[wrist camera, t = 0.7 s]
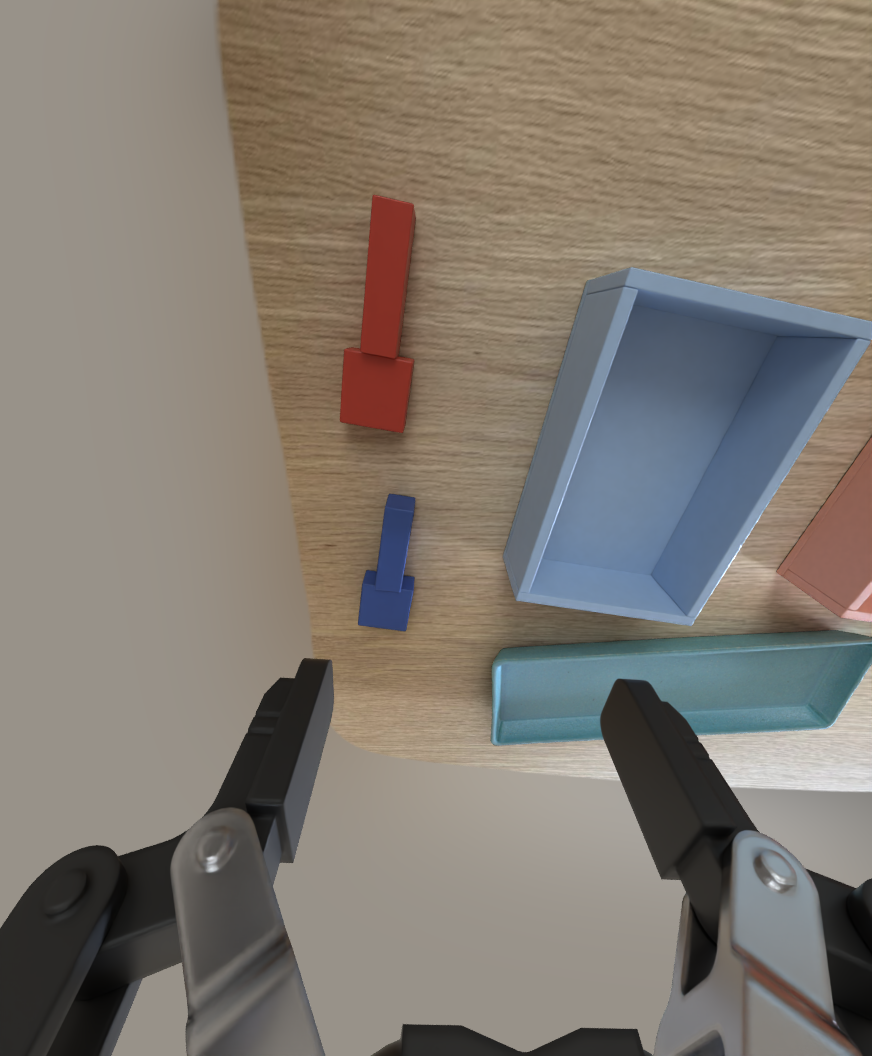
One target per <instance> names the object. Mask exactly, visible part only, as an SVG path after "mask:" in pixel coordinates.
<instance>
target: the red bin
mask: <svg viewBox="0 0 872 1056" xmlns="http://www.w3.org/2000/svg"><path fill="white" fill-rule="evenodd" d="M777 573H778V574H780V575H781V576H783V577H784V578H786V579H787V580H788V581H790V582H791V583H793V584H794V585H795V586H797V587H798V588H800V589H801V590H802V591H804V592H805V593H807V594H808V595H809V596H811V597H812V598H814V599H815V600H816V601H818V602H819V603H821V604H822V605H823V606H825V607H826V608H828V609H829V610H830V611H832V612H833V613H835V614H836V615H837V616H839V617H841V618H848V619H854V620H861V621H867V622H872V437H871V439H870V440H869V441H868V443H867V444H866V446H865V447H864V448H863V450H862V451H861V453H860V454H859V456H858V457H857V458H856V460H855V461H854V463H853V464H852V465H851V467H850V468H849V470H848V471H847V473H846V474H845V475H844V477H843V478H842V480H841V481H840V482H839V484H838V485H837V487H836V488H835V489H834V491H833V492H832V494H831V495H830V497H829V498H828V499H827V501H826V502H825V504H824V505H823V506H822V508H821V509H820V511H819V512H818V514H817V515H816V516H815V518H814V519H813V521H812V522H811V523H810V525H809V526H808V528H807V529H806V531H805V532H804V533H803V535H802V536H801V538H800V539H799V540H798V542H797V543H796V545H795V546H794V547H793V549H792V550H791V552H790V553H789V555H788V556H787V557H786V559H785V560H784V562H783V563H782V564H781V566H780V567H779V569H778V570H777Z"/></svg>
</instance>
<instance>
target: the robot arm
mask: <svg viewBox="0 0 872 1056" xmlns="http://www.w3.org/2000/svg"><path fill="white" fill-rule="evenodd" d="M333 704H334V688H333V667H332V660H326V659H310V658H304V659H303V660H302V662H301V664H300V666H299V669H298V671H297V674H296V676H295V678H280V679H279V680H278V681H277V682H276V683H275V684H274V685H273V686H272V687H271V688H270V689H269V690H268V691H267V692H266V693H265V694H264V696H263V699H262V701H261V703H260V705H259V707H258V709H257V711H256V715H255V717H254V718H253V720H252V722H251V724H250V726H249V728H248V733H247V734H246V735H245V737H244V739H243V741H242V743H241V746H240V748H239V750H238V752H237V754H236V756H235V758H234V761H233V763H232V765H231V767H230V769H229V772H228V774H227V776H226V778H225V780H224V782H223V784H222V786H221V789H220V791H219V793H218V795H217V797H216V799H215V801H214V803H213V804H212V806H211V807H210V809H209V810H208V811H207V812H206V814H205V815H204V816H203V817H202V818H201V819H200V820H198V821H197V822H196V823H195V824H194V825H193V826H192V827H191V828H190V829H188V830H187V831H185V832H184V833H182V834H181V835H179V836H177V837H175V838H173V839H171V840H168V841H165V842H163V843H159V844H156V845H153V846H150V847H146V848H143V849H140V850H137V851H134V852H130V853H128V854H124V855H121V856H117V855H116V853H115V852H114V851H113V850H112V849H110V848H109V847H106V846H98V845H96V846H88V847H85V848H81V849H79V850H77V851H74V852H72V853H70V854H68V855H66V856H64V857H63V858H61V859H60V860H58V861H57V862H55V863H54V864H53V865H51V866H50V867H49V868H48V869H46V870H45V871H44V872H43V873H42V874H41V875H40V876H39V877H38V878H37V879H36V880H35V881H34V882H33V883H32V884H31V885H30V886H29V888H28V889H27V891H26V892H25V893H24V894H23V896H22V897H21V899H20V900H19V902H18V903H17V904H16V906H15V907H14V909H13V910H12V912H11V913H10V915H9V916H8V918H7V919H6V921H5V922H4V924H3V925H2V927H1V928H0V1056H111V1055H112V1052H113V1050H114V1047H115V1045H116V1043H117V1040H118V1038H119V1035H120V1033H121V1030H122V1028H123V1025H124V1023H125V1021H126V1018H127V1016H128V1013H129V1010H130V1008H131V1006H132V1003H133V1001H134V998H135V996H136V993H137V991H138V989H139V986H140V984H141V981H142V979H143V978H144V977H147V976H149V975H152V974H154V973H156V972H159V971H161V970H163V969H166V968H168V967H171V966H174V965H176V964H178V963H181V962H182V966H183V974H184V981H185V989H186V997H187V1006H188V1020H187V1023H186V1052H187V1056H325V1053H324V1050H323V1047H322V1043H321V1040H320V1037H319V1034H318V1030H317V1027H316V1024H315V1020H314V1017H313V1014H312V1010H311V1007H310V1004H309V1000H308V998H307V994H306V991H305V987H304V984H303V981H302V978H301V974H300V971H299V968H298V964H297V961H296V958H295V955H294V951H293V948H292V945H291V943H290V940H289V937H288V934H287V931H286V928H285V925H284V922H283V919H282V915H281V912H280V908H279V905H278V902H277V899H276V895H275V892H274V889H273V884H274V880H275V877H276V874H277V870H278V867H279V863H282V862H283V863H293V861H294V858H295V854H296V850H297V846H298V843H299V839H300V835H301V831H302V828H303V824H304V820H305V816H306V812H307V808H308V805H309V801H310V797H311V794H312V790H313V786H314V782H315V778H316V775H317V770H318V767H319V763H320V760H321V756H322V752H323V748H324V744H325V741H326V737H327V733H328V729H329V726H330V722H331V717H332V712H333ZM600 727H601V732H602V736H603V739H604V741H605V743H606V746H607V748H608V751H609V753H610V756H611V758H612V760H613V763H614V765H615V768H616V770H617V772H618V775H619V777H620V780H621V782H622V785H623V787H624V789H625V792H626V794H627V797H628V799H629V802H630V804H631V806H632V809H633V811H634V814H635V816H636V819H637V821H638V823H639V826H640V828H641V831H642V833H643V836H644V838H645V840H646V843H647V845H648V848H649V850H650V852H651V855H652V857H653V860H654V862H655V865H656V867H657V869H658V872H659V874H660V877H661V879H670V880H681V881H682V884H683V886H684V888H685V891H686V894H685V896H684V898H683V901H682V909H681V917H680V925H679V933H678V941H677V949H676V957H675V964H674V973H673V980H672V988H671V994H670V998H669V1002H668V1005H667V1008H666V1010H665V1012H664V1014H663V1017H662V1019H661V1022H660V1026H659V1029H658V1033H657V1037H656V1043H655V1049H654V1055H652V1054H650V1053H649V1052H647V1051H645V1050H643V1047H642V1044H641V1040H640V1037H639V1033H638V1030H637V1029H606V1028H604V1029H603V1028H600V1029H599V1028H580V1029H578V1030H575V1031H573V1032H571V1033H569V1034H567V1035H565V1036H563V1037H560V1038H558V1039H556V1040H554V1041H552V1042H550V1043H548V1044H545V1045H543V1046H541V1047H539V1048H537V1049H535V1050H532V1051H530V1052H520V1051H517V1050H515V1049H513V1048H511V1047H508V1046H506V1045H504V1044H502V1043H499V1042H497V1041H495V1040H493V1039H490V1038H488V1037H486V1036H484V1035H481V1034H479V1033H477V1032H475V1031H473V1030H470V1029H468V1028H466V1027H464V1026H459V1025H409V1024H407V1025H406V1024H403V1026H402V1032H401V1038H400V1040H397V1041H395V1042H393V1043H391V1044H388V1045H386V1046H385V1047H383V1048H382V1049H380V1050H379V1051H378V1052H376V1053H374V1054H373V1055H371V1056H872V879H869V880H867V881H865V882H864V883H863V884H861V885H860V886H859V887H858V888H854V887H851V886H849V885H846V884H844V883H841V882H838V881H836V880H833V879H831V878H828V877H825V876H823V875H820V874H818V873H815V872H813V871H810V870H808V869H805V868H804V867H803V865H802V864H801V863H800V862H799V861H798V860H797V858H796V857H795V856H794V855H793V854H792V853H790V852H789V851H788V850H787V849H786V848H785V847H784V846H782V845H781V844H780V843H778V842H777V841H775V840H773V839H772V838H770V837H768V836H767V835H764V834H762V833H760V832H759V831H758V830H757V829H756V827H755V826H754V824H753V823H752V821H751V820H750V818H749V817H748V815H747V813H746V812H745V810H744V809H743V807H742V806H741V804H740V803H739V801H738V799H737V798H736V796H735V795H734V793H733V792H732V790H731V789H730V787H729V785H728V784H727V782H726V781H725V779H724V778H723V776H722V775H721V773H720V771H719V770H718V768H717V767H716V765H715V764H714V762H713V761H712V759H709V754H708V753H707V751H706V750H705V748H704V747H703V745H702V744H701V743H699V741H698V737H697V736H696V734H695V733H694V731H693V730H692V728H691V726H690V725H689V723H688V722H687V720H686V719H685V718H684V717H683V716H682V715H681V714H680V713H679V712H678V711H677V710H676V709H675V708H674V707H673V706H672V705H671V704H670V703H668V702H665V701H661V700H660V698H659V697H658V695H657V693H656V692H655V690H654V688H653V687H652V685H651V684H650V683H649V682H648V681H646V680H635V679H617V680H616V681H615V682H614V684H613V687H612V689H611V691H610V694H609V696H608V698H607V701H606V703H605V705H604V707H603V710H602V712H601V716H600Z"/></svg>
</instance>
